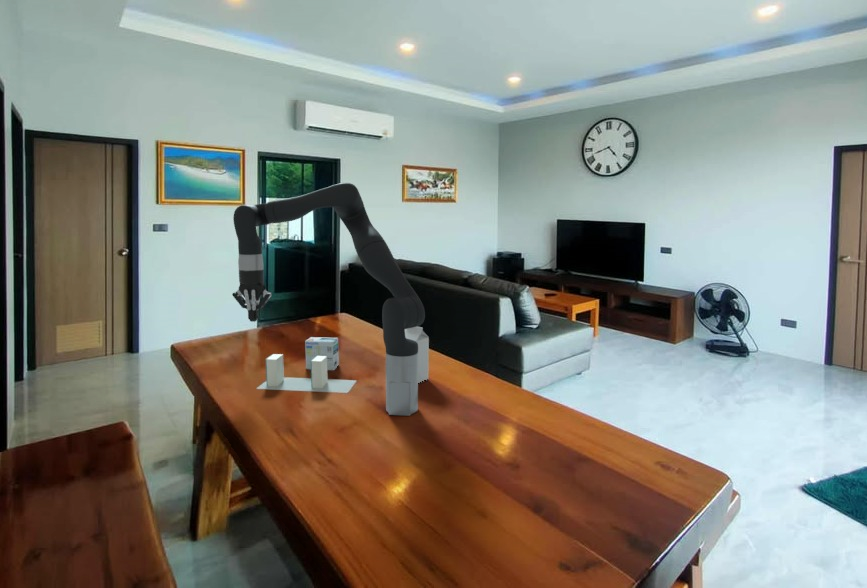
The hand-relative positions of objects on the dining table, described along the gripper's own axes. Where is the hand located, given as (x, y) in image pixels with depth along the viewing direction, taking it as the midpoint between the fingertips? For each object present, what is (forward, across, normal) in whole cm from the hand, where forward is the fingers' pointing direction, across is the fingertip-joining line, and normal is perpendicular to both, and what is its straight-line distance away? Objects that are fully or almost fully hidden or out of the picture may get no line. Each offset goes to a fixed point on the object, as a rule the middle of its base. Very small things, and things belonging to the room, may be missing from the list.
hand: (253, 321), depth 168 cm
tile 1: (+21, +6, 0) cm, 22 cm away
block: (+21, +22, 0) cm, 30 cm away
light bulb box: (+21, +16, +19) cm, 33 cm away
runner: (+21, +18, 0) cm, 27 cm away
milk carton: (+21, +52, +9) cm, 56 cm away
